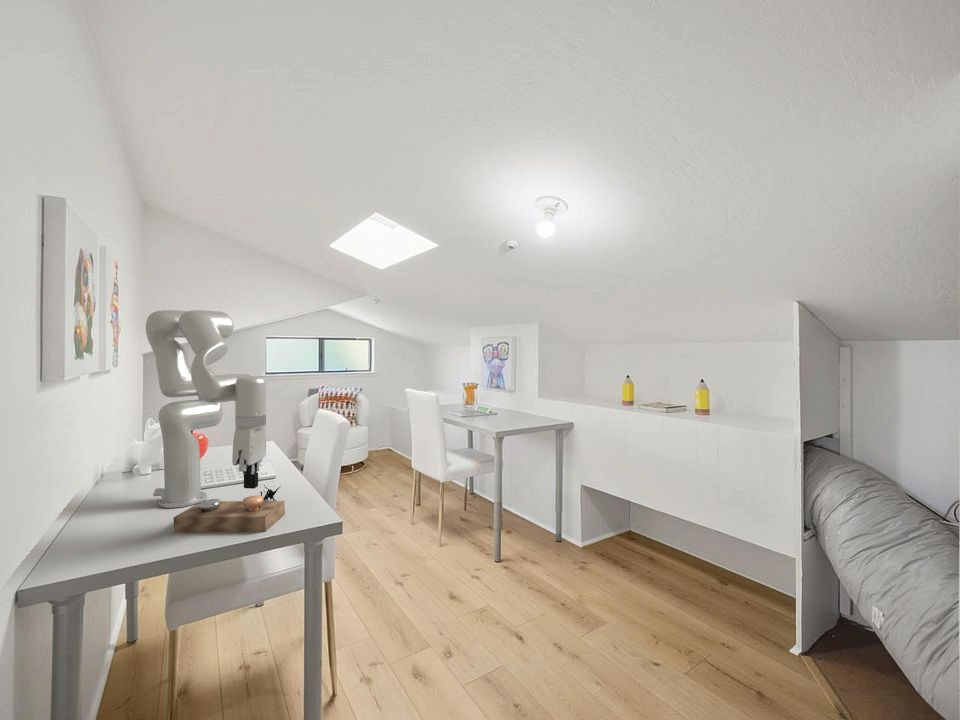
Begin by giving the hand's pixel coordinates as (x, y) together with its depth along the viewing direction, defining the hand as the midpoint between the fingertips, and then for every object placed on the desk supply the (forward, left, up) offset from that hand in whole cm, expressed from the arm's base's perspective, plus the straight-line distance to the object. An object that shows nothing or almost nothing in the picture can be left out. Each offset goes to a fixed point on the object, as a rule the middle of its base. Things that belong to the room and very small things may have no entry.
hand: (251, 487), depth 126 cm
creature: (-3, +15, -10) cm, 18 cm away
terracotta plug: (+1, 0, -8) cm, 8 cm away
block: (-5, 0, -10) cm, 11 cm away
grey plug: (-11, 0, -9) cm, 15 cm away
